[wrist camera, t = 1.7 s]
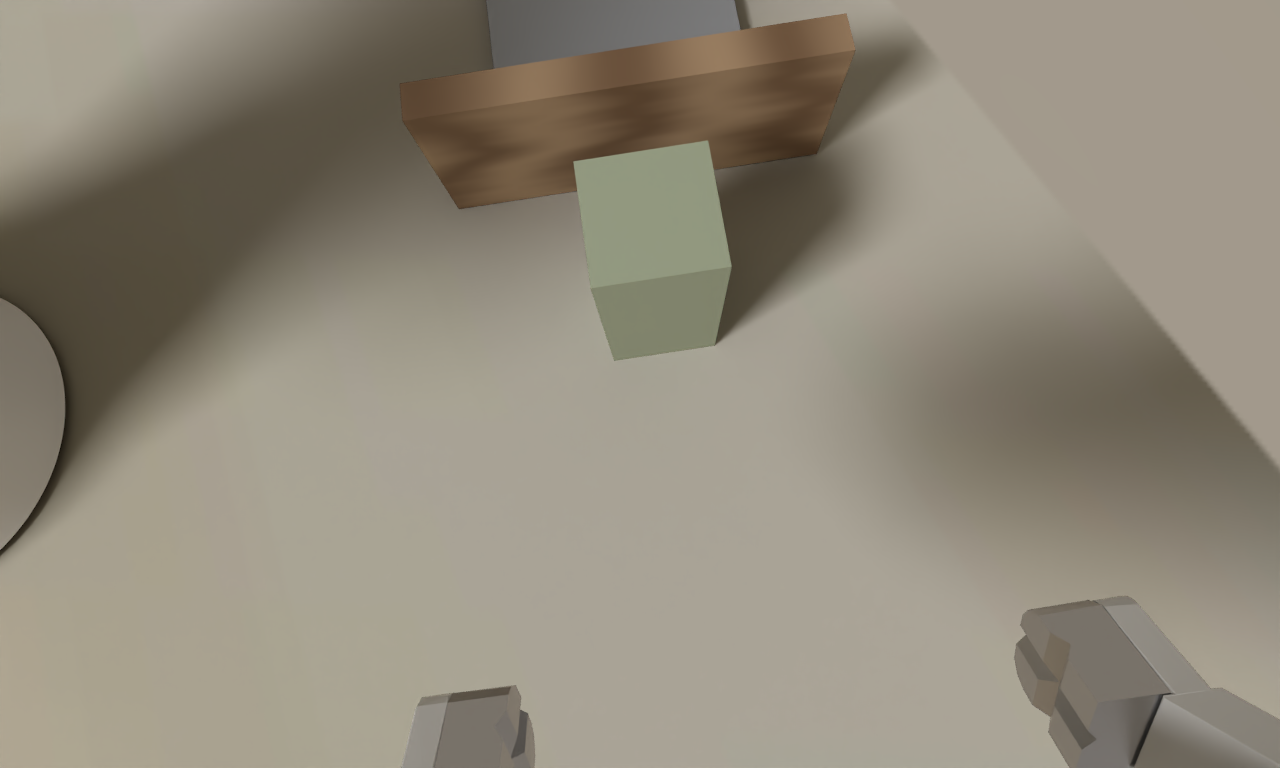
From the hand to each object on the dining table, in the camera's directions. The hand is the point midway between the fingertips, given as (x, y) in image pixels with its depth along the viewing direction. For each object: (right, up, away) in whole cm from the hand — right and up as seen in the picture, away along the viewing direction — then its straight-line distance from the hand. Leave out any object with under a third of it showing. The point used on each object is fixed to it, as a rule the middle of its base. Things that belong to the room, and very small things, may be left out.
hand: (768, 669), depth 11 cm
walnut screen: (-2, +15, +21) cm, 26 cm away
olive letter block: (-1, +8, +20) cm, 21 cm away
